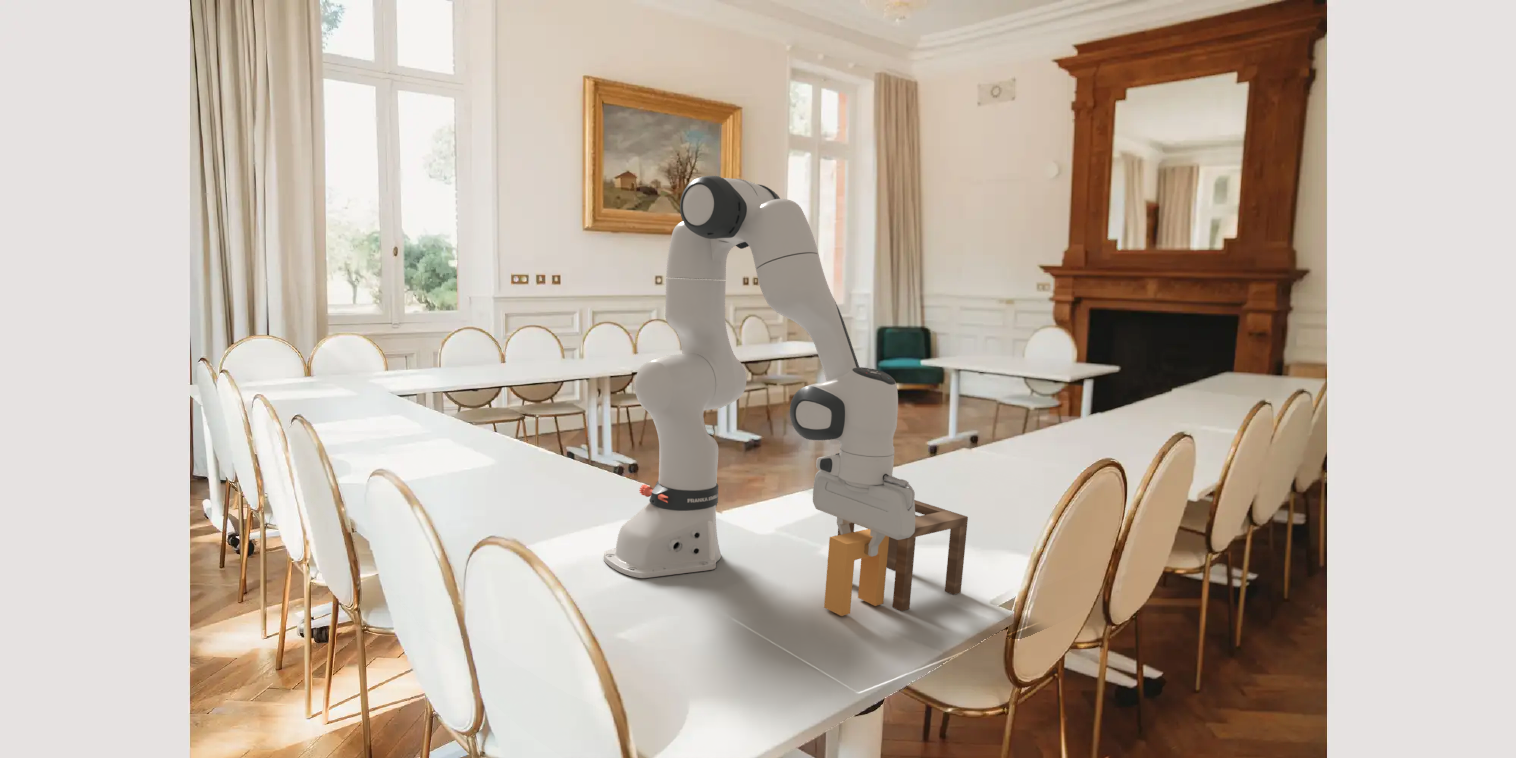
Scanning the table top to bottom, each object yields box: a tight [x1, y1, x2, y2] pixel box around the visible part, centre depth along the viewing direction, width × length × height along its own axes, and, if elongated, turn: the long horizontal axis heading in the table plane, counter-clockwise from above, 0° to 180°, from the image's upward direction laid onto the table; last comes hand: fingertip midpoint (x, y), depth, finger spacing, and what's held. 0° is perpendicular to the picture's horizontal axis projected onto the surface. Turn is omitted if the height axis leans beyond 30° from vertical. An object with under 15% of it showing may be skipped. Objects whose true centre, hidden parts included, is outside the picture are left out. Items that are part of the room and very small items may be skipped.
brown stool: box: [837, 499, 969, 612], centre depth 147 cm, size 16×16×14 cm
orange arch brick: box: [823, 528, 889, 617], centre depth 136 cm, size 10×4×12 cm, turn 129°
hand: (858, 549), depth 136 cm, fingers closed on orange arch brick, 4 cm apart
